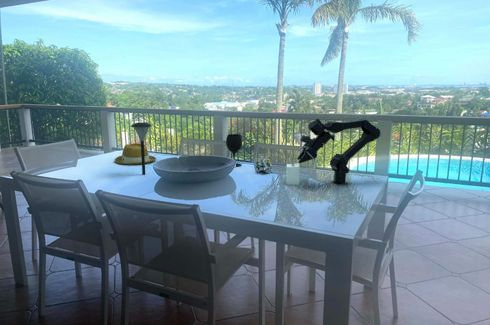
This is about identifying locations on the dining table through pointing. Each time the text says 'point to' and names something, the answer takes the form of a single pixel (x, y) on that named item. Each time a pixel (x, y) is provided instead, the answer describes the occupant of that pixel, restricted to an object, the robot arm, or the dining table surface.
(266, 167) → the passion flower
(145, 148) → the fedora
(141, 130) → the solar garden light
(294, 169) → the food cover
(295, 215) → the dining table surface
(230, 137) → the wine glass
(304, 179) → the placemat
